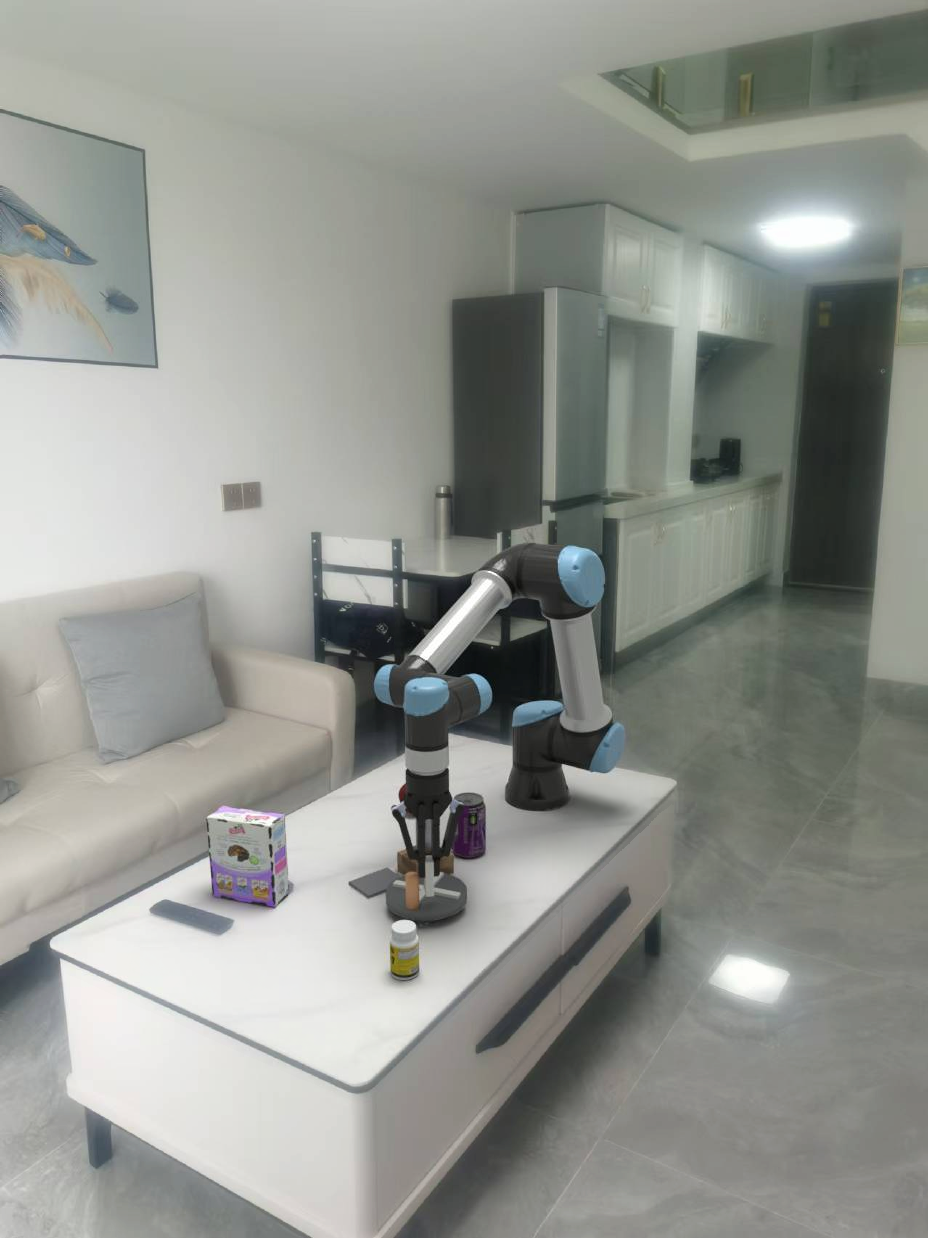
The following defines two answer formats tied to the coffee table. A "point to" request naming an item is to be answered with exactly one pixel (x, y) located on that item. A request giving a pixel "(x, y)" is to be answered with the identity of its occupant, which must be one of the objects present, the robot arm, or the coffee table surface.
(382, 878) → the rest mat
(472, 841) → the beverage can
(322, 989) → the coffee table surface
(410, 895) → the handwheel
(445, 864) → the block
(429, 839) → the grey cylinder
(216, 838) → the candy box
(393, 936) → the supplement bottle
